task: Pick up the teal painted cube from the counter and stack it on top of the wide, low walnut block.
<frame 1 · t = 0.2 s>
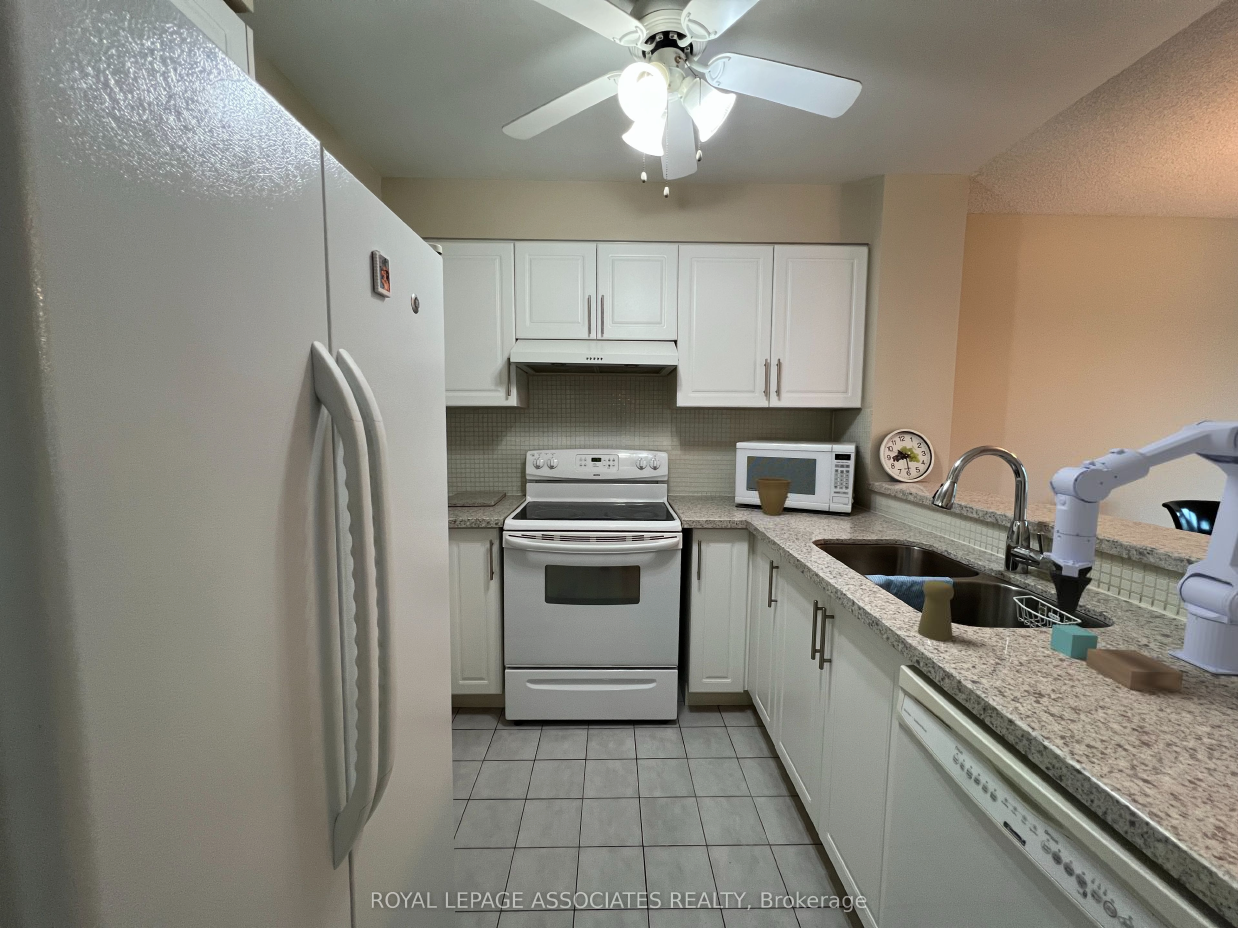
hand: (1067, 605, 92), 10 cm above the counter, tool pointing down, fingers open, 7 cm apart
walnut block: (1130, 679, 85), on the counter
teal cube: (1072, 652, 95), on the counter
plant pot: (771, 514, 229), on the counter
cork: (934, 635, 101), on the counter
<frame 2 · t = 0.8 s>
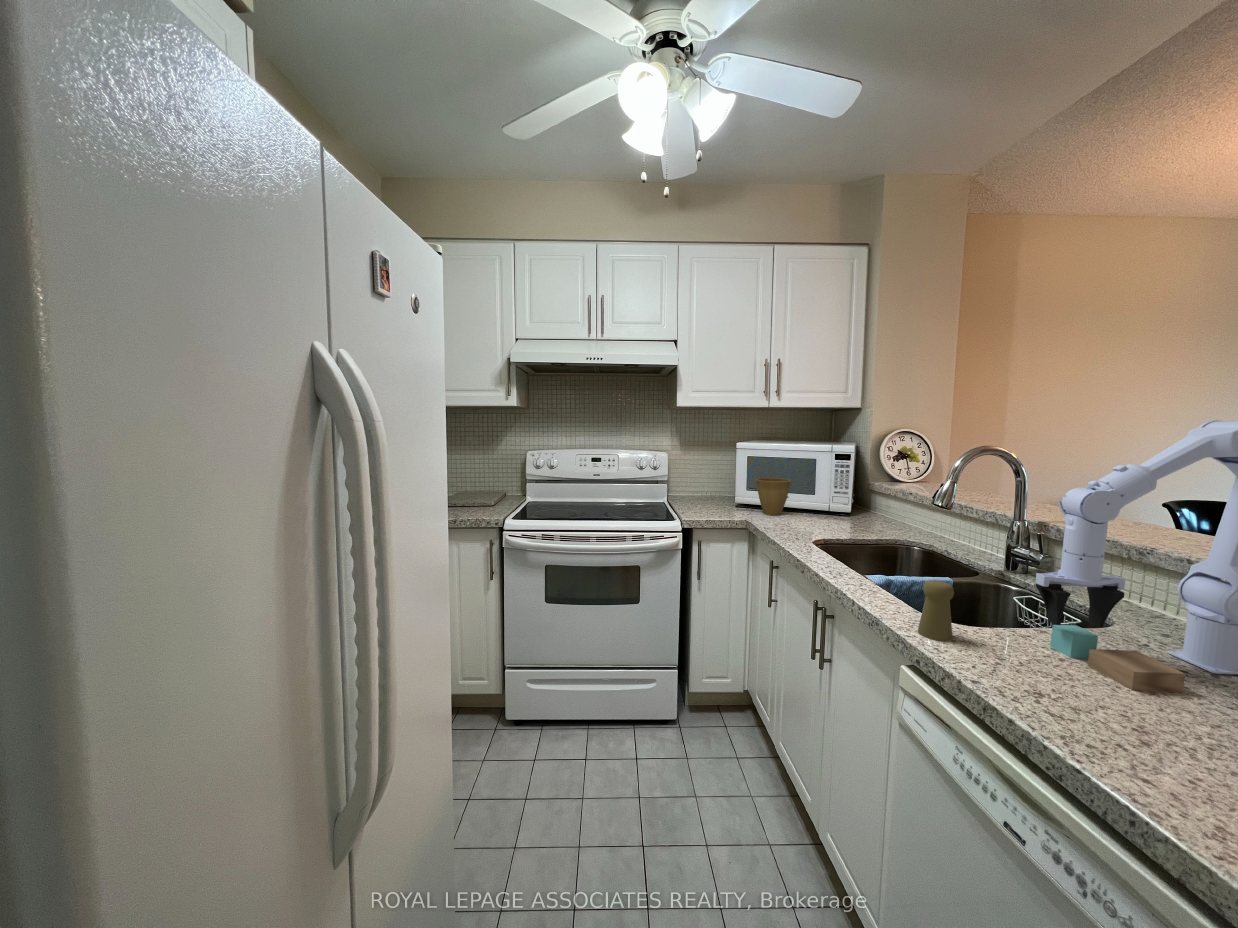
hand: (1074, 623, 94), 6 cm above the counter, tool pointing down, fingers open, 7 cm apart
nothing on the counter moved.
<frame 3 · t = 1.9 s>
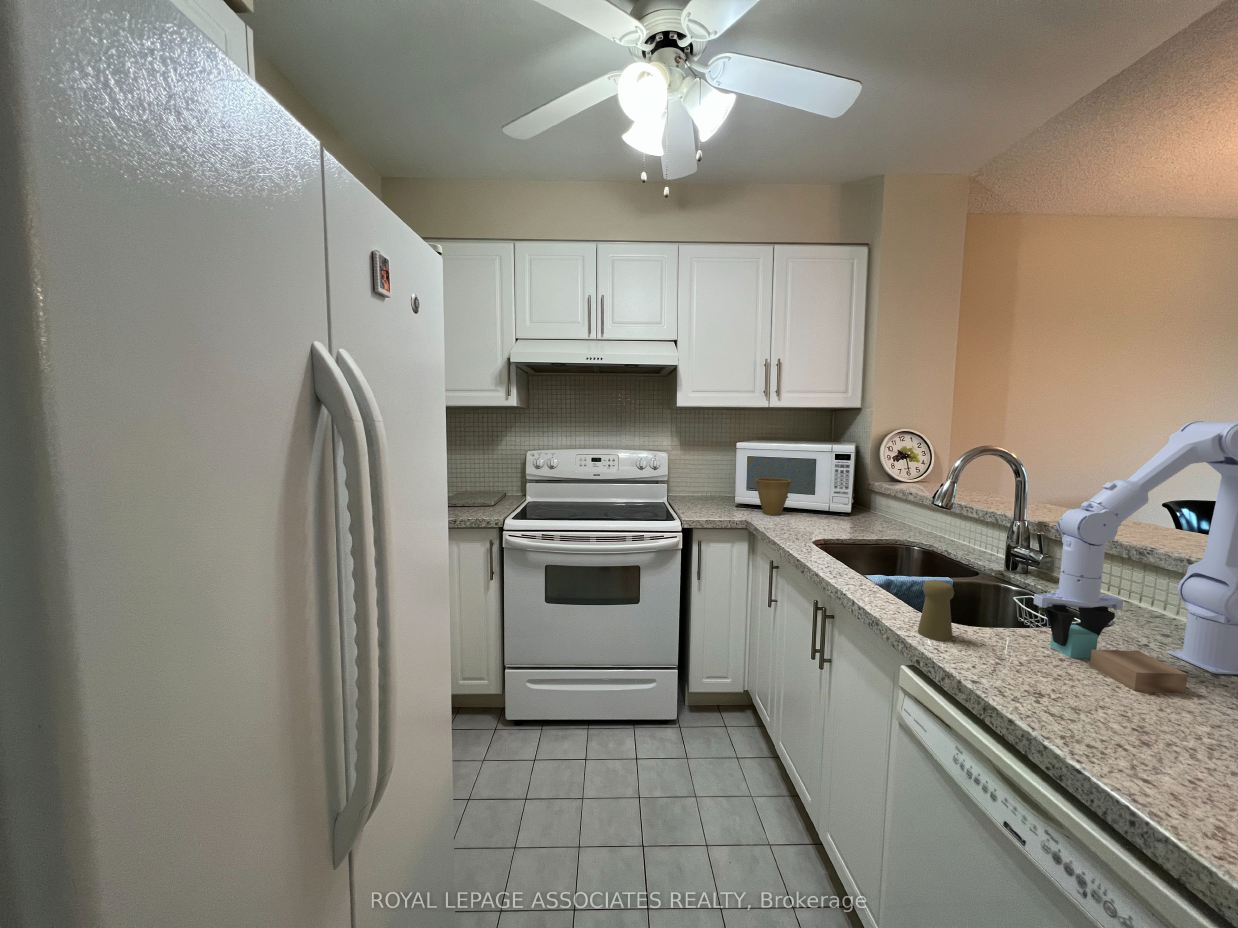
hand: (1073, 644, 94), 2 cm above the counter, tool pointing down, fingers closed on teal cube, 4 cm apart
teal cube: (1072, 652, 95), on the counter, touching gripper
everything else where it was.
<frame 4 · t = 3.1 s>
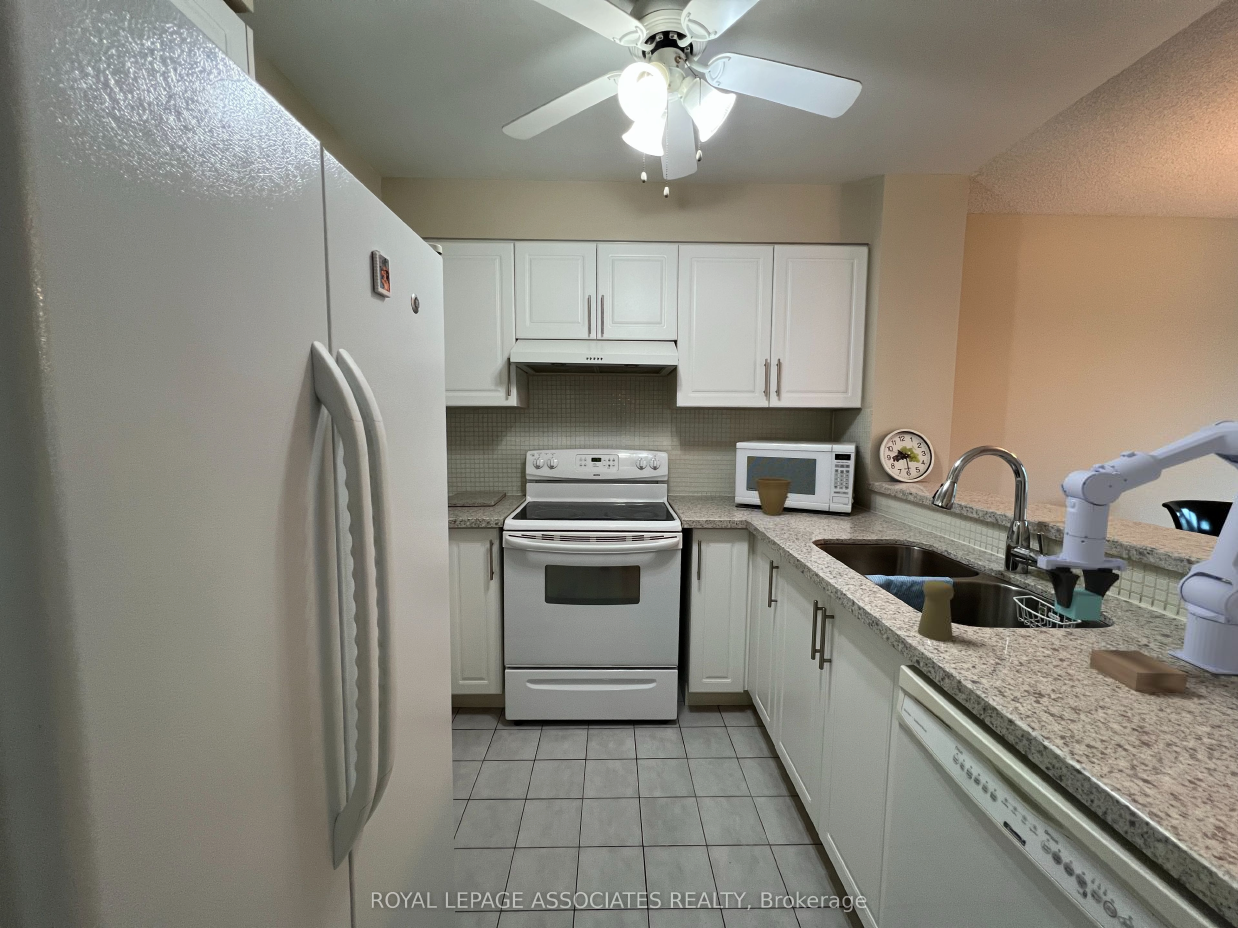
hand: (1077, 606, 94), 9 cm above the counter, tool pointing down, fingers closed on teal cube, 4 cm apart
teal cube: (1076, 615, 94), point 7 cm above the counter, touching gripper
everything else where it was.
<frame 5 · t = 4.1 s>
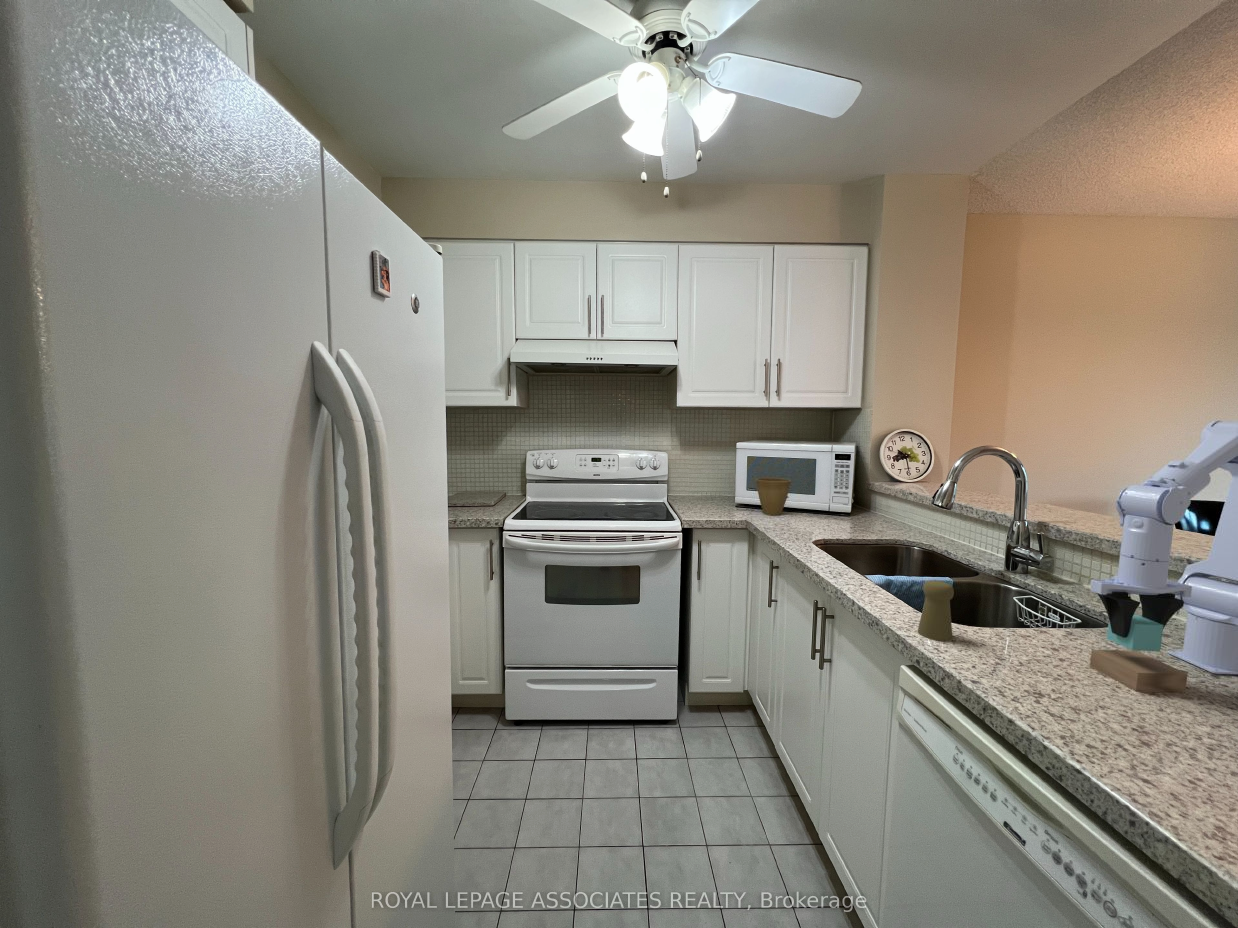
hand: (1134, 635, 85), 7 cm above the counter, tool pointing down, fingers closed on teal cube, 4 cm apart
teal cube: (1132, 644, 85), point 6 cm above the counter, touching gripper
everything else where it was.
when the fingers open (6 cm above the counter, at t = 4.8 s): teal cube drops 1 cm, resting on walnut block.
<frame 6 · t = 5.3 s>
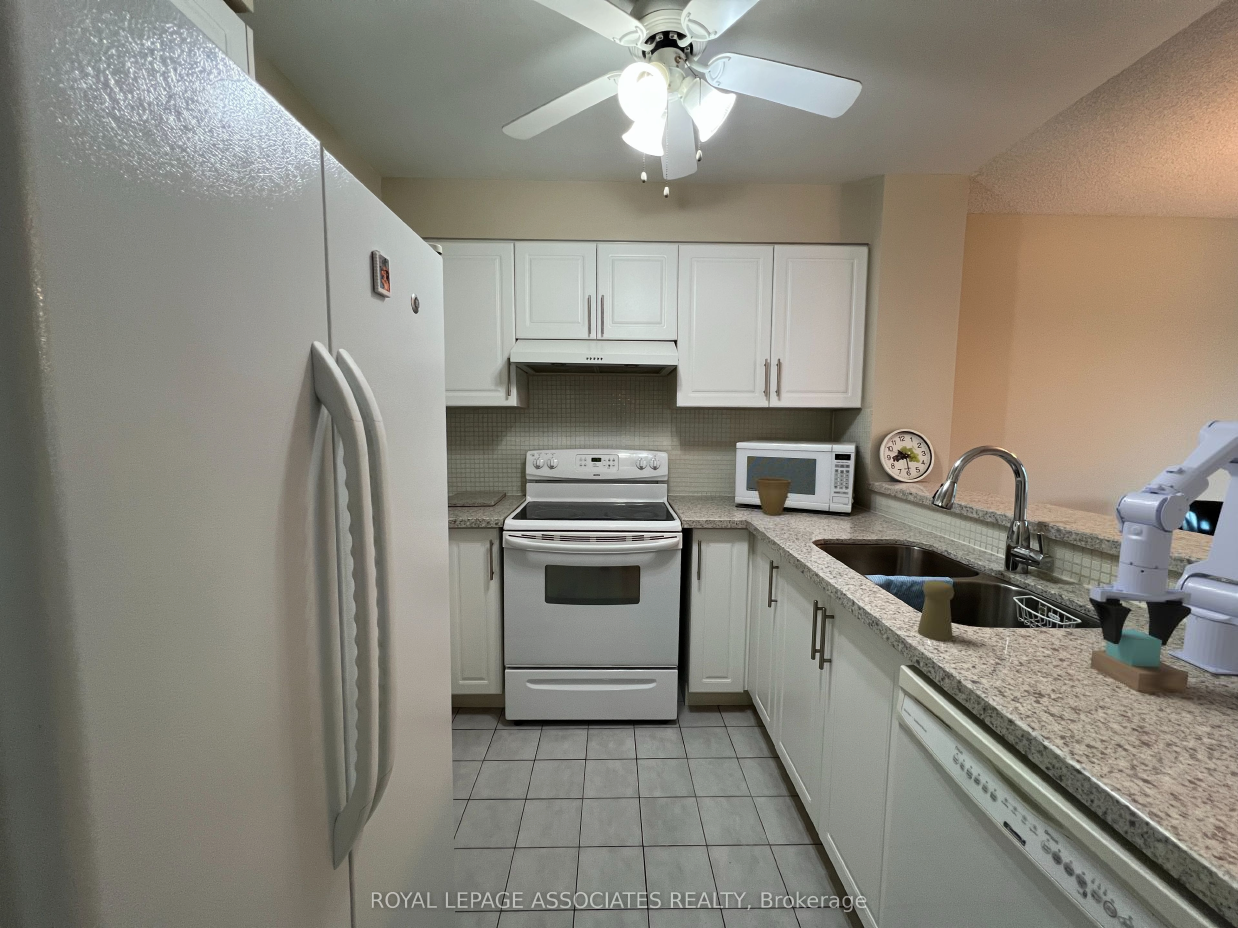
hand: (1134, 642, 85), 6 cm above the counter, tool pointing down, fingers open, 7 cm apart
walnut block: (1135, 681, 85), on the counter, touching teal cube
teal cube: (1131, 659, 85), point 3 cm above the counter, touching walnut block
everything else where it was.
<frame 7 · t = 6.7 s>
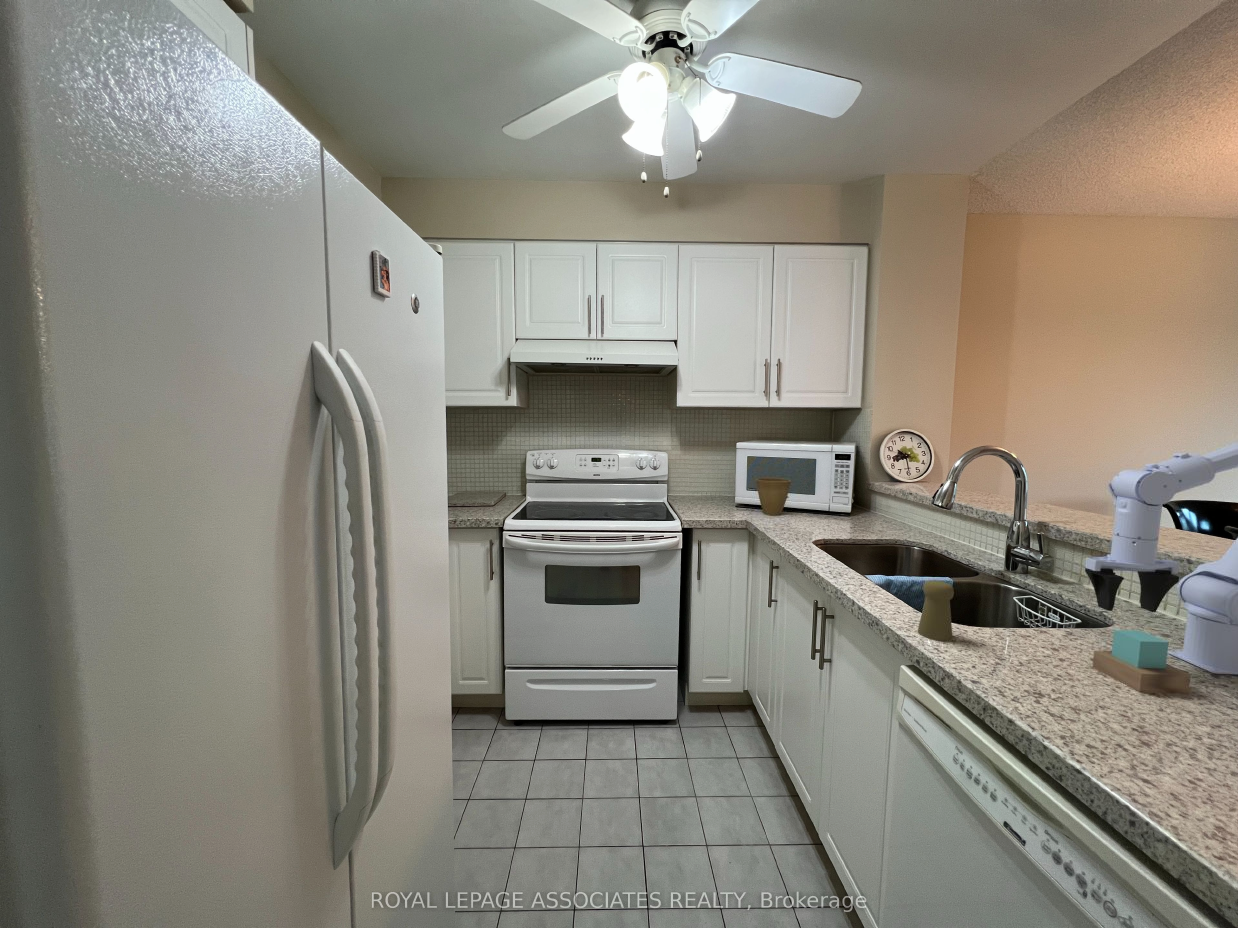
hand: (1126, 609, 91), 9 cm above the counter, tool pointing down, fingers open, 7 cm apart
nothing on the counter moved.
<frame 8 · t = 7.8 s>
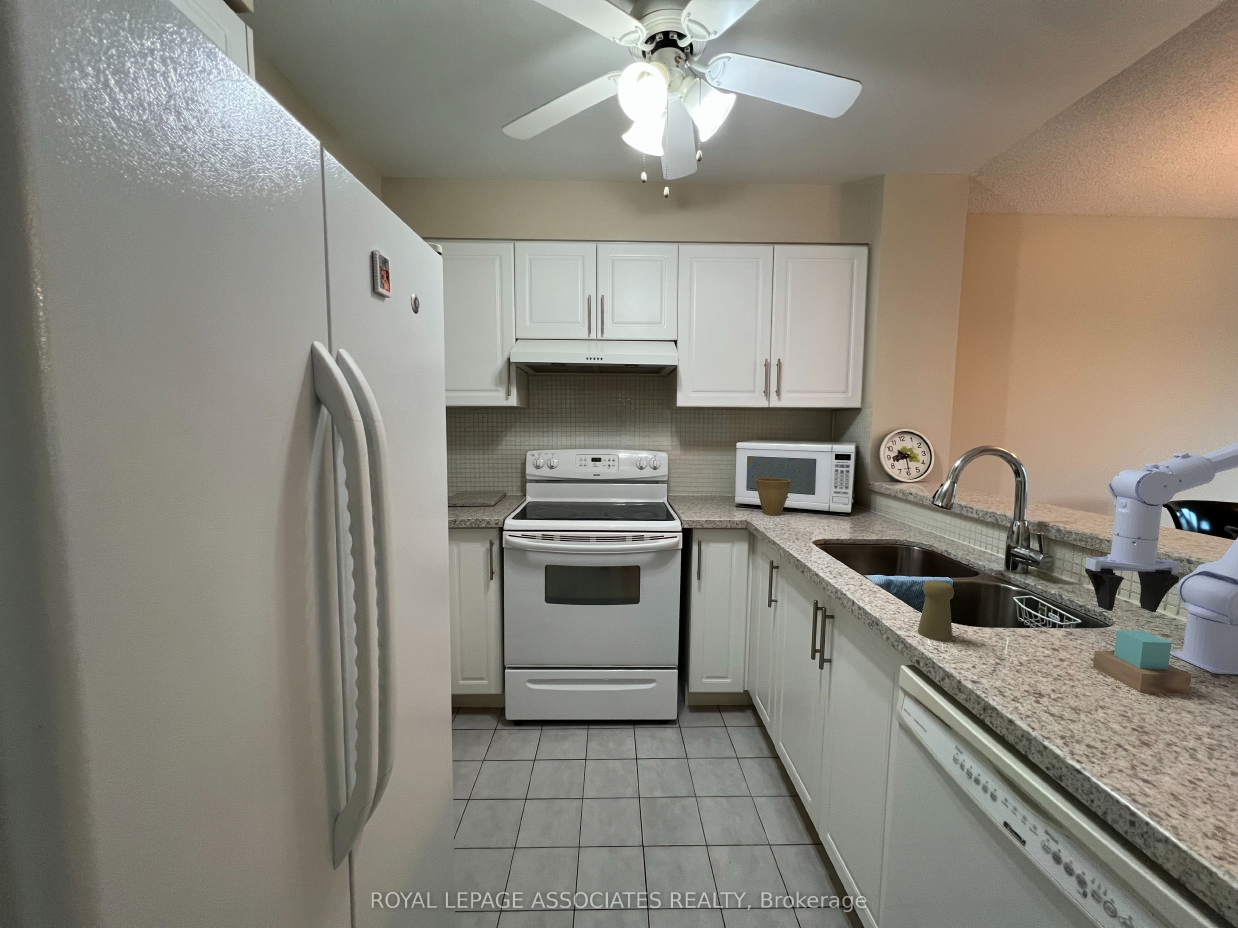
hand: (1126, 609, 91), 9 cm above the counter, tool pointing down, fingers open, 7 cm apart
walnut block: (1138, 681, 85), on the counter
teal cube: (1140, 661, 84), point 3 cm above the counter
everything else where it was.
at the end: teal cube 0.4 cm off-centre on the walnut block, point 3.5 cm above the walnut block's base; teal cube tilted 1°; the gripper is holding nothing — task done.
